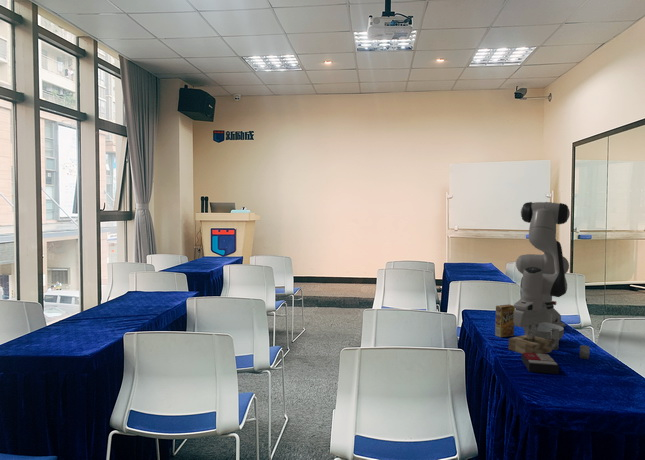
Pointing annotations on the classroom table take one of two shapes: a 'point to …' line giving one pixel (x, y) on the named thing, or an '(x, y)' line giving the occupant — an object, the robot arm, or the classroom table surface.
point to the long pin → (531, 333)
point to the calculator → (540, 363)
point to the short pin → (584, 352)
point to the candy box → (504, 321)
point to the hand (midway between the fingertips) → (530, 333)
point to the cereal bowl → (548, 330)
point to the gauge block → (530, 345)
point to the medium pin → (554, 338)
